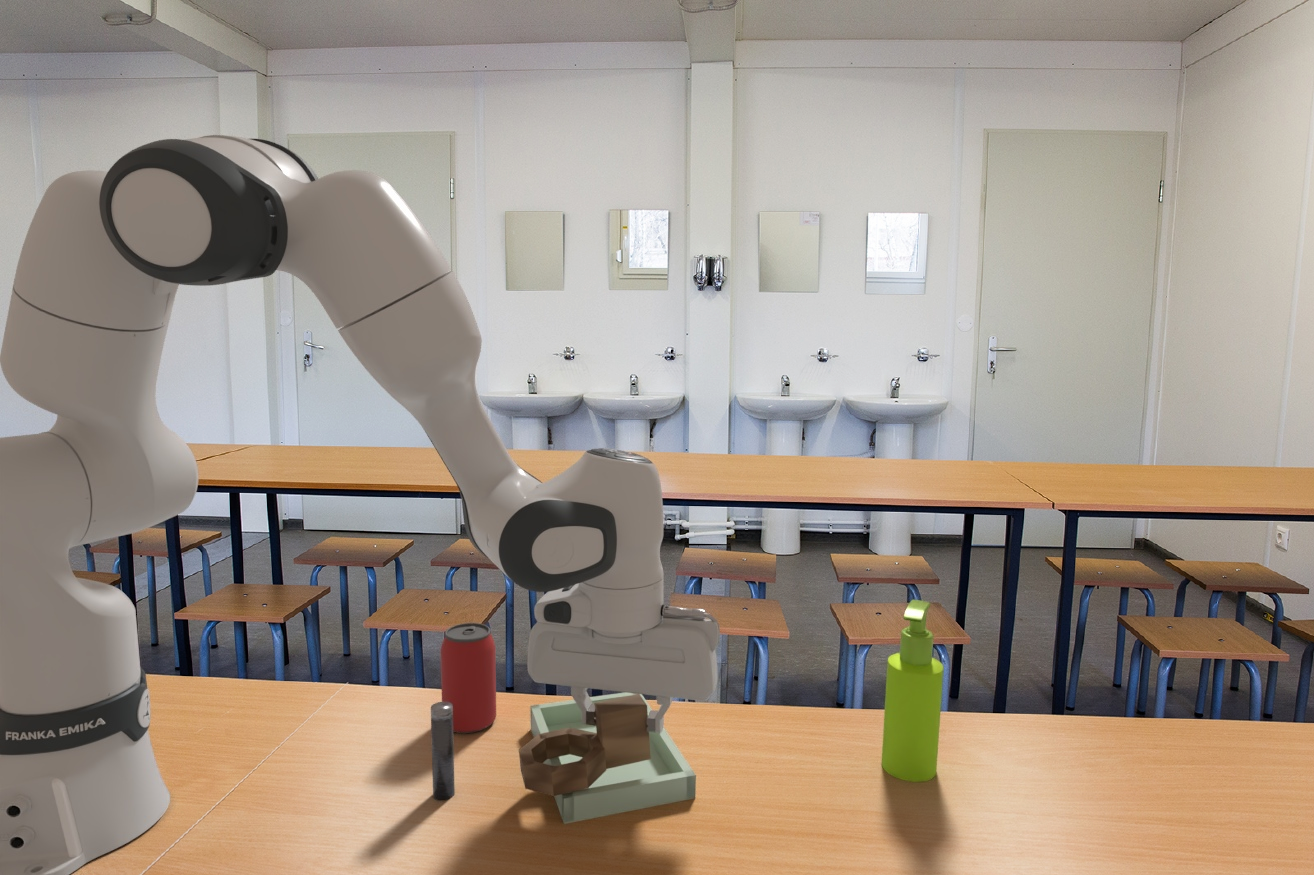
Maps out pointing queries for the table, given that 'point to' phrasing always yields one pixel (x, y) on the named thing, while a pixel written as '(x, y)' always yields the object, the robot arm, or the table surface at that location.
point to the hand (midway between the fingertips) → (622, 726)
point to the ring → (588, 748)
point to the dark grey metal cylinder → (442, 750)
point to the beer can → (469, 676)
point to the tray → (617, 769)
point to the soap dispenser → (913, 702)
